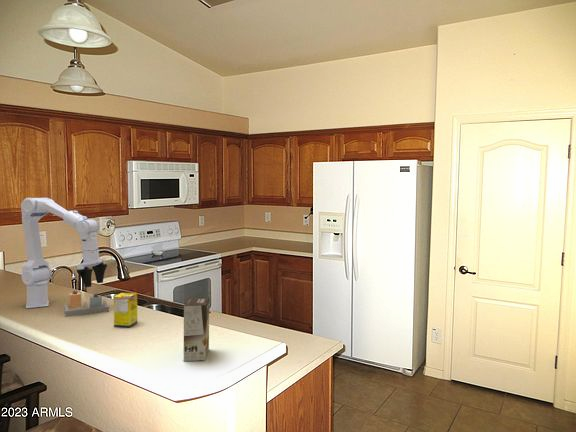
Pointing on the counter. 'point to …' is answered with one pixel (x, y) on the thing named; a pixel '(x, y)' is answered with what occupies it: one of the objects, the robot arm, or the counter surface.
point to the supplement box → (125, 309)
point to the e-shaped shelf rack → (86, 309)
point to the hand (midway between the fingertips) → (94, 284)
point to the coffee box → (196, 329)
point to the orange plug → (75, 299)
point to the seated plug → (95, 301)
